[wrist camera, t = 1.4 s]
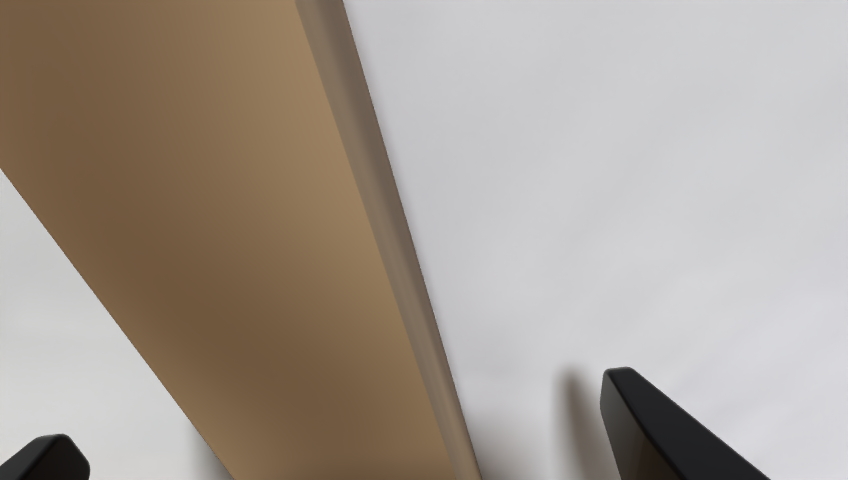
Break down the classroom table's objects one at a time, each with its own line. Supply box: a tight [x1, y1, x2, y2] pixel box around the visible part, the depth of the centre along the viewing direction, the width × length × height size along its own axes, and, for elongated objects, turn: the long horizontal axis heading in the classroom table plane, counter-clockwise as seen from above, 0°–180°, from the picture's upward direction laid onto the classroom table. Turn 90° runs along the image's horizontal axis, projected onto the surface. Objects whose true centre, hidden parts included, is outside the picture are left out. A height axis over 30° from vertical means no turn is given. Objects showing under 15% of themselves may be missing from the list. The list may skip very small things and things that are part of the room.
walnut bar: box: [0, 0, 482, 480], centre depth 10 cm, size 4×18×4 cm, turn 13°
